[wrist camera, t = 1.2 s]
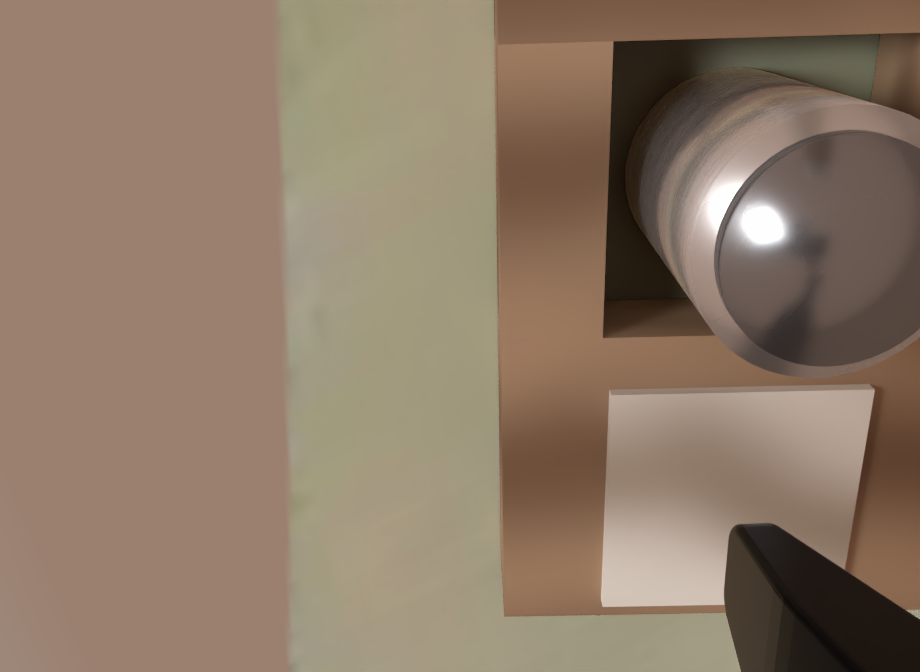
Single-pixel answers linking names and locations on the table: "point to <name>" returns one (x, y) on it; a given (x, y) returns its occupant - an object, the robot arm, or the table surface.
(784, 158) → the plug
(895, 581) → the block
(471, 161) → the table surface
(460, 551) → the table surface
